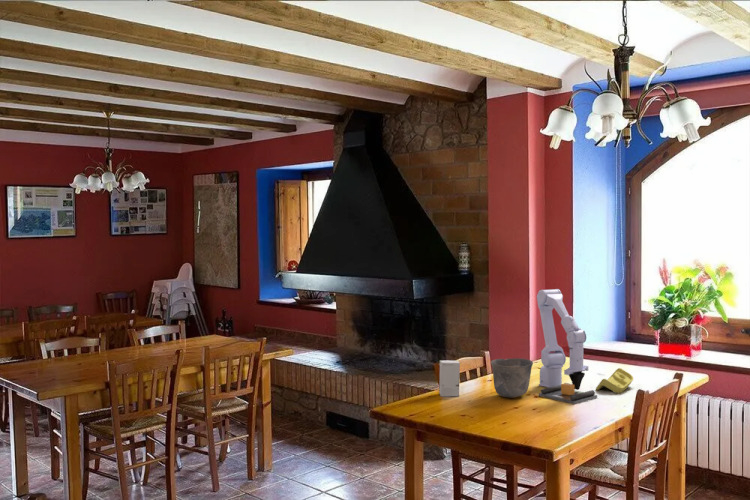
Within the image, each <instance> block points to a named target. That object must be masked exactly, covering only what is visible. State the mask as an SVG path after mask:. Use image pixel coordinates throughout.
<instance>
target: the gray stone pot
mask: <svg viewBox="0 0 750 500" xmlns="http://www.w3.org/2000/svg"><path fill="white" fill-rule="evenodd" d="M533 363H534V361H532V360H531V359H526V358H521V357H520V358H516V357H513V358H498V359H497V358H496V359H492V360H491V361H490V364H491V368H492V369H491V370H492V375H493V376H492V378H493V388H494V389H495V392H496V393H497V394H498V395H499V396H500V397H504V398H510V399H511V398H517V397H521V396H523V395H525V394H526V393H527V392H528V390H529V387H530V381H531V373H532V368H533Z"/></svg>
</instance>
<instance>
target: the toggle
mask: <svg viewBox="0 0 750 500" xmlns="http://www.w3.org/2000/svg"><path fill="white" fill-rule="evenodd" d="M574 390H575V389H574V385H573V384H572V383H568V382H564V383H562V384H561V393H562V394H566V395H573V394H574Z"/></svg>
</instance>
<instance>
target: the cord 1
mask: <svg viewBox="0 0 750 500" xmlns="http://www.w3.org/2000/svg"><path fill="white" fill-rule="evenodd" d="M560 389H561V385H557V386H552V387H544V388H541V390H540V393H543V394H544V393H548V392H552V391H556V390H560Z"/></svg>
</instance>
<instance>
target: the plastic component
mask: <svg viewBox="0 0 750 500" xmlns="http://www.w3.org/2000/svg"><path fill="white" fill-rule="evenodd" d="M632 382H634V377H633V375H632V374H631V373H630V372H628V371H626V370H625V369H623V368H620V367H619V368H616V370H615V371H614V372H613V373H612V374H611V376H609V378H608V379H607V378H602V379H601V381H599V383H598V384H597V386H596V388H595V390H597V391H599V390H601V389H603V388H604V387H605V388H607V389H608V390H610V391H612V392H613V393H616V394H622V393H623V392H624V391H625V390H626V389H628V388H629V386H630V385H631V383H632Z"/></svg>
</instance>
